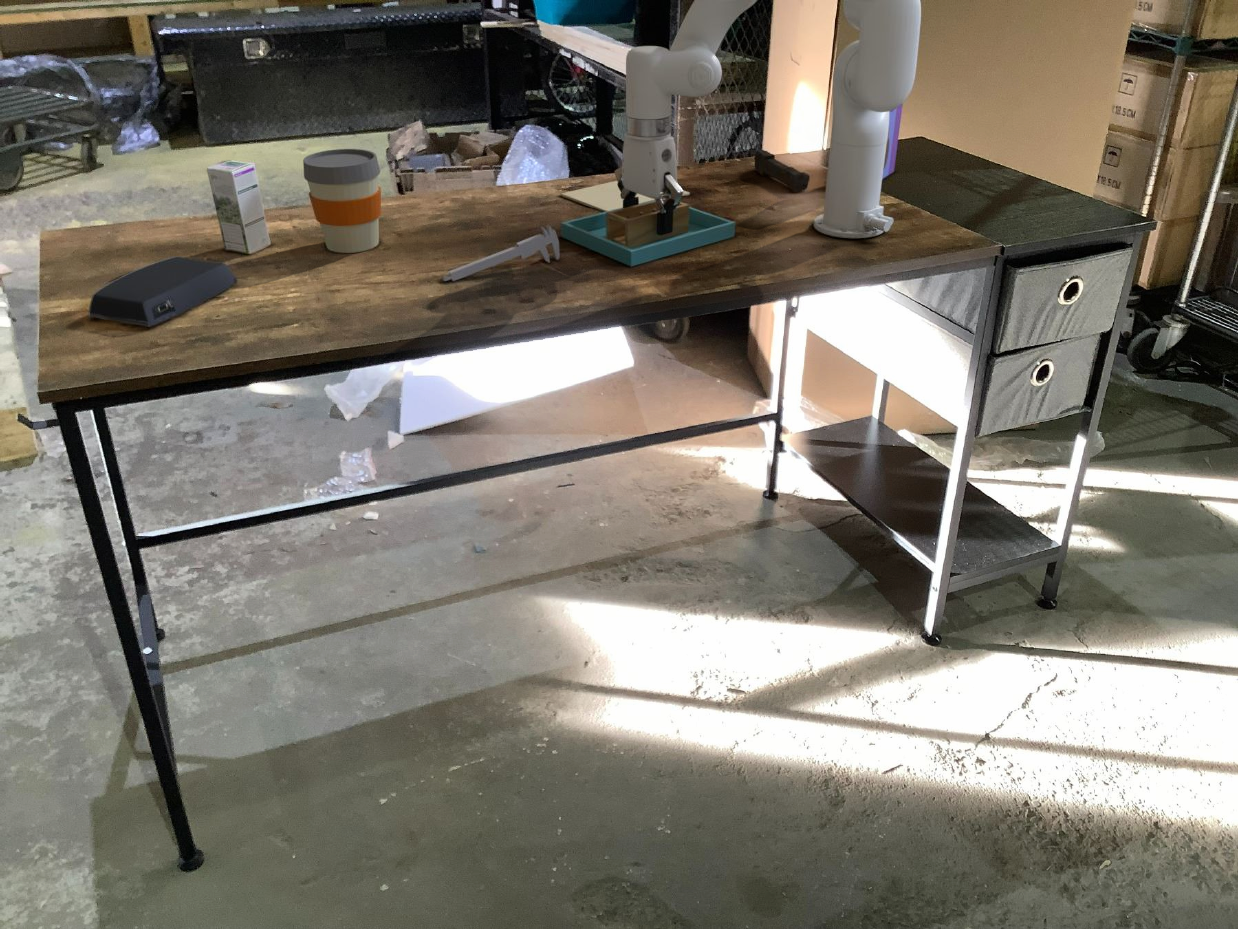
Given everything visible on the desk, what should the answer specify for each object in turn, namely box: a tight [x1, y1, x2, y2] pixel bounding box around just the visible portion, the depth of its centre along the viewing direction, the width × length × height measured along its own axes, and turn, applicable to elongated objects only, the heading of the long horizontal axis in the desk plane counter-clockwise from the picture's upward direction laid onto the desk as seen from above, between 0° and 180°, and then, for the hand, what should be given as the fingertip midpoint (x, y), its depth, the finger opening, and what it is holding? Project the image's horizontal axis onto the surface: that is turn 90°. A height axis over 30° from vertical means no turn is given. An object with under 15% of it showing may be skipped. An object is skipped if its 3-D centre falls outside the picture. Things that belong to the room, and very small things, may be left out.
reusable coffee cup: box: [302, 148, 382, 254], centre depth 175 cm, size 12×13×15 cm
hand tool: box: [753, 149, 810, 194], centre depth 209 cm, size 19×4×5 cm, turn 19°
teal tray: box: [560, 200, 736, 267], centre depth 180 cm, size 20×24×3 cm
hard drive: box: [88, 255, 239, 328], centre depth 156 cm, size 13×19×4 cm
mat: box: [560, 180, 691, 212], centre depth 202 cm, size 16×20×1 cm
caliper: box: [441, 224, 561, 282], centre depth 165 cm, size 20×1×6 cm, turn 119°
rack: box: [606, 198, 690, 248], centre depth 179 cm, size 6×14×5 cm, turn 129°
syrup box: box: [206, 159, 272, 255], centre depth 174 cm, size 6×6×14 cm
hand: (647, 226), depth 179 cm, fingers open, 8 cm apart
